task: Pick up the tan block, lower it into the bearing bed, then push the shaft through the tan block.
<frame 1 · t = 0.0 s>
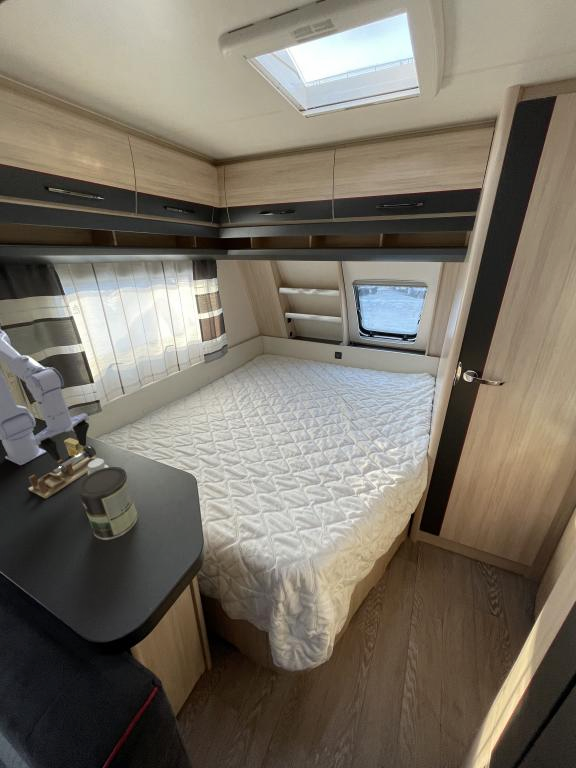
hand: (70, 452, 90), 10 cm above the table, fingers open, 7 cm apart
bearing bed: (77, 469, 98), on the table
coffee can: (116, 523, 79), on the table
supplement bottle: (104, 489, 90), on the table
shaft: (74, 460, 97), point 4 cm above the table, slide at 0.0 cm
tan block: (77, 456, 105), on the table
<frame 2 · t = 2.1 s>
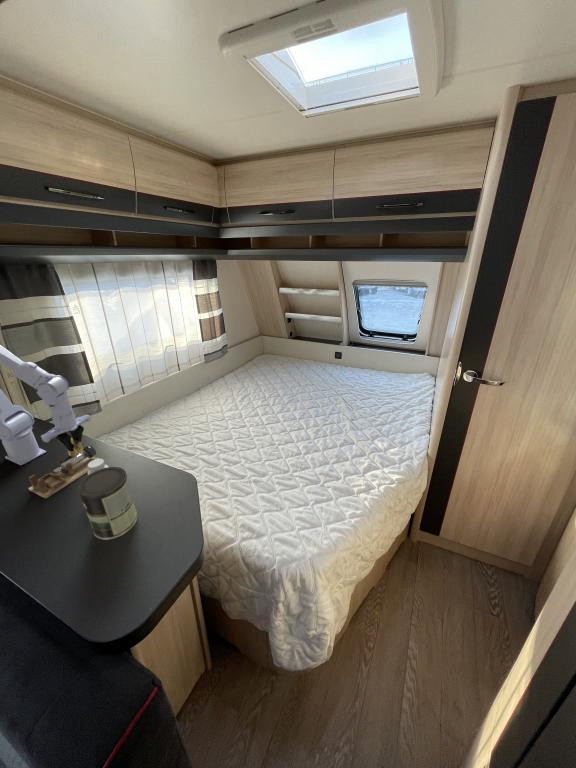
hand: (74, 448, 103), 3 cm above the table, fingers closed on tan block, 2 cm apart
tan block: (77, 456, 105), on the table, touching gripper
everything else where it was.
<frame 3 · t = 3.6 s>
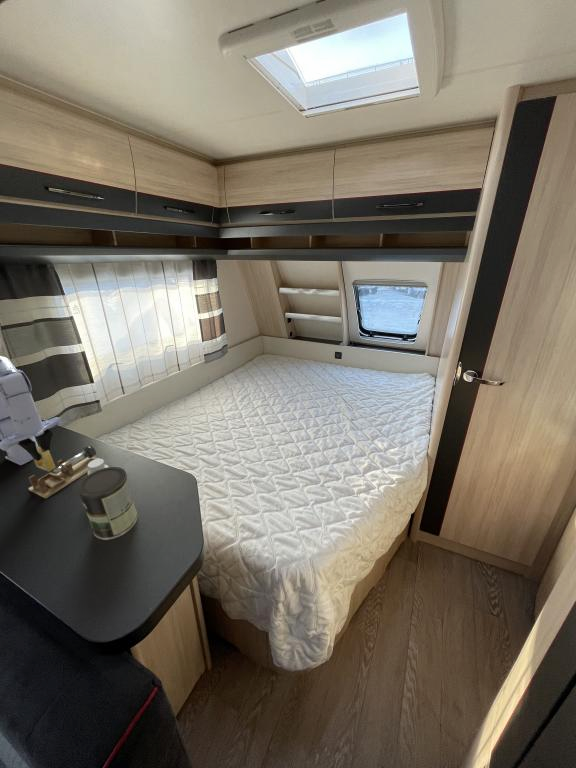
hand: (42, 456, 88), 10 cm above the table, fingers closed on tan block
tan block: (46, 467, 90), point 6 cm above the table, touching gripper
everything else where it was.
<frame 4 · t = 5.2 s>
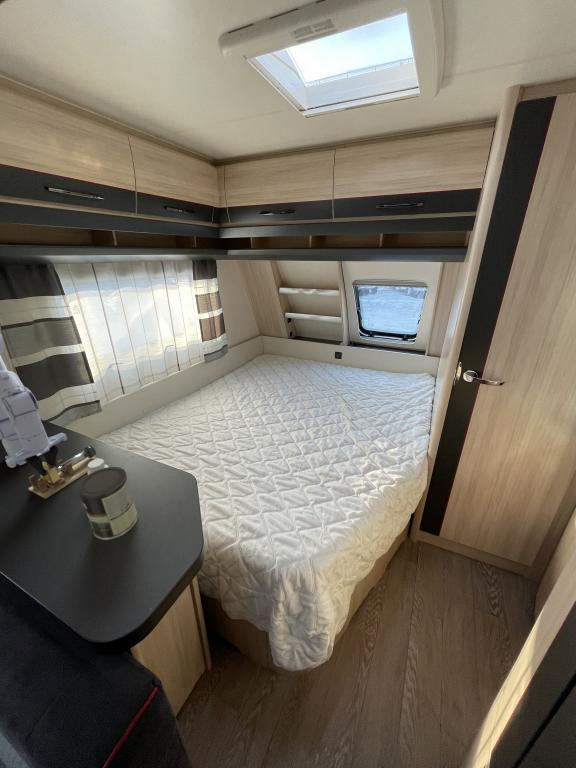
hand: (48, 472, 90), 5 cm above the table, fingers closed
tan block: (52, 482, 92), point 1 cm above the table, touching bearing bed
everything else where it was.
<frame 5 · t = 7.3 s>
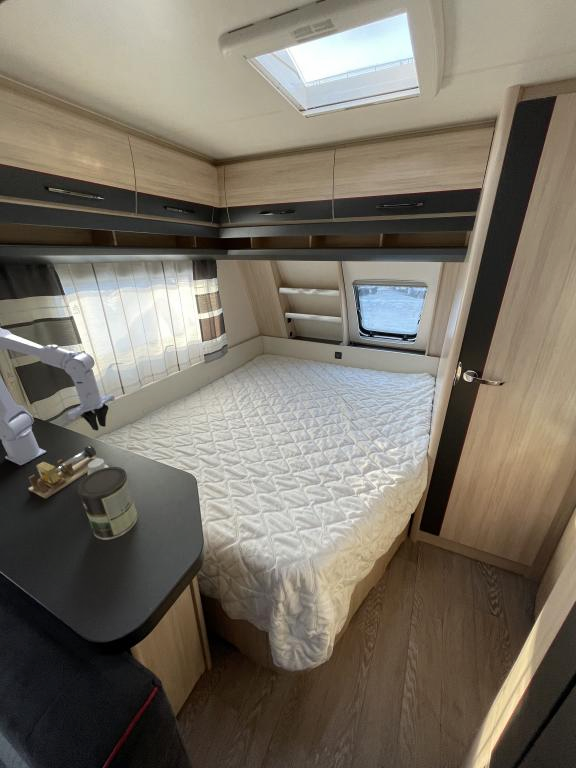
hand: (99, 427, 103), 10 cm above the table, fingers closed
nothing on the table moved.
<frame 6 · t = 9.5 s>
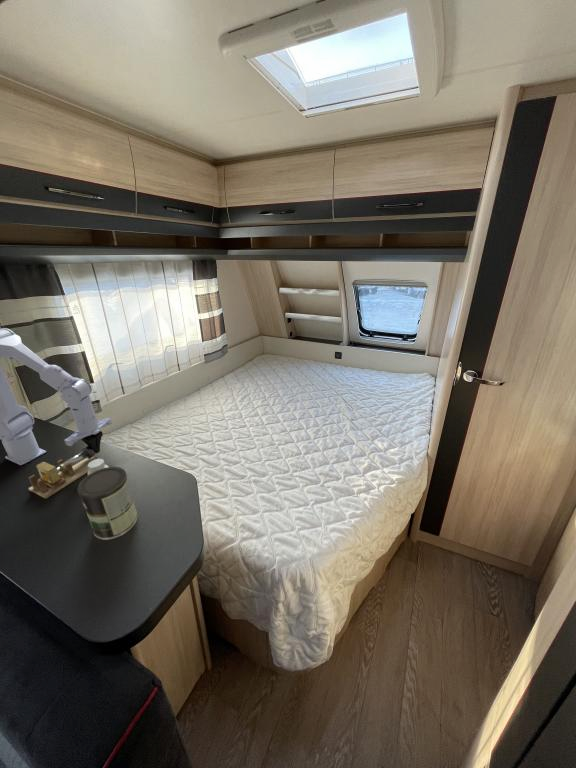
hand: (96, 451, 103), 2 cm above the table, fingers closed
shaft: (72, 461, 96), point 4 cm above the table, slide at 0.4 cm, touching gripper
everything else where it was.
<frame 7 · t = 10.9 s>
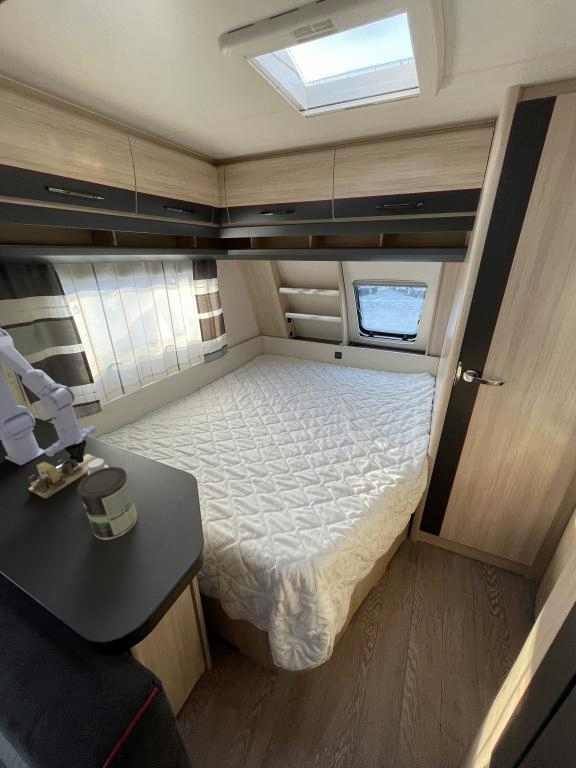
hand: (79, 461, 98), 2 cm above the table, fingers closed
shaft: (54, 472, 92), point 4 cm above the table, slide at 6.0 cm, touching gripper
everything else where it was.
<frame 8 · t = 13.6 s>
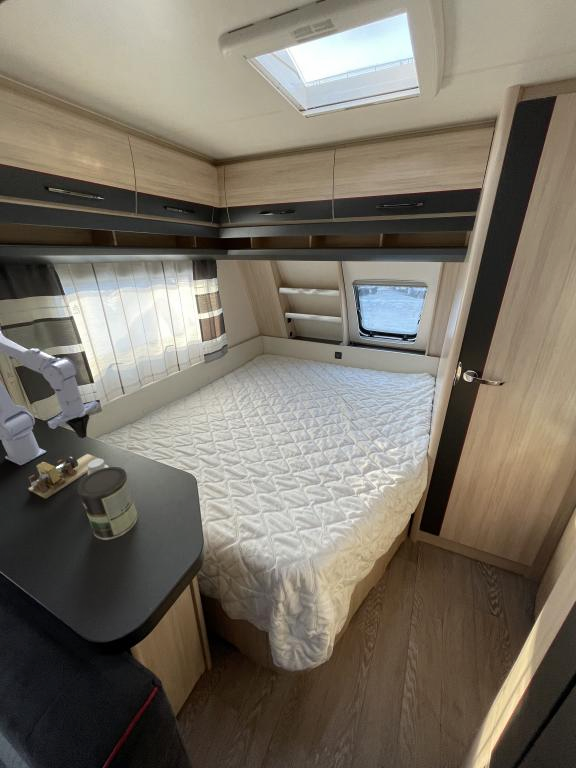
hand: (82, 436, 98), 10 cm above the table, fingers closed
shaft: (54, 472, 92), point 4 cm above the table, slide at 6.0 cm
everything else where it was.
at the end: shaft slide at 6.0 cm; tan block 0.0 cm from the target spot, point 0.8 cm above the table; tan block tilted 0° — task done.
